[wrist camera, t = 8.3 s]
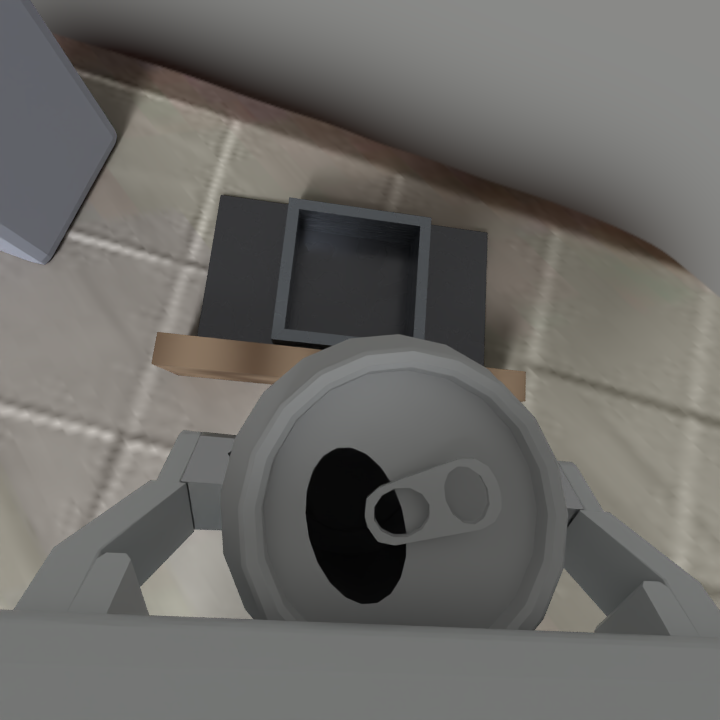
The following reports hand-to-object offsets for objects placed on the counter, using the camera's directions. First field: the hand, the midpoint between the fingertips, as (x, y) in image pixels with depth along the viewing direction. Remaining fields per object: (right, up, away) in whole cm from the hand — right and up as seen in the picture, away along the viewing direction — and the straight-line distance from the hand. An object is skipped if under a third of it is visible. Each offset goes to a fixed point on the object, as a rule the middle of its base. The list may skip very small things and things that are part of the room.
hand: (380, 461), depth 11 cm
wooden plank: (-2, +1, +20) cm, 20 cm away
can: (-1, -2, +8) cm, 8 cm away
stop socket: (-1, +8, +21) cm, 22 cm away
